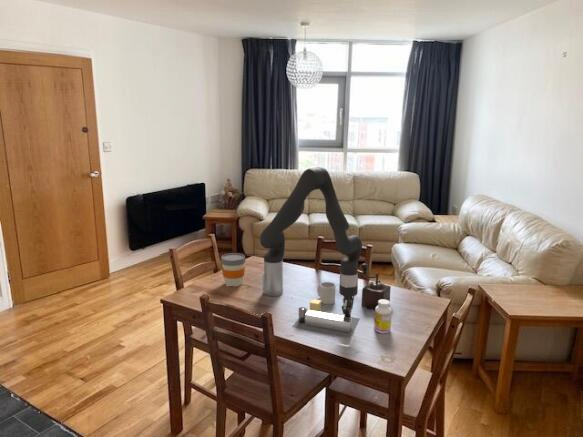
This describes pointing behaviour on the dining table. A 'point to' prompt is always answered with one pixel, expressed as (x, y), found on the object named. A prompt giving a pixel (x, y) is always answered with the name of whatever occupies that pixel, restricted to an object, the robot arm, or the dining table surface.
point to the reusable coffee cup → (233, 268)
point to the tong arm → (331, 316)
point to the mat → (328, 331)
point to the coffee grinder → (373, 291)
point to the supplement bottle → (383, 316)
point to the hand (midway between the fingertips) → (347, 321)
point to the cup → (327, 292)
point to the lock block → (315, 305)
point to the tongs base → (323, 321)
